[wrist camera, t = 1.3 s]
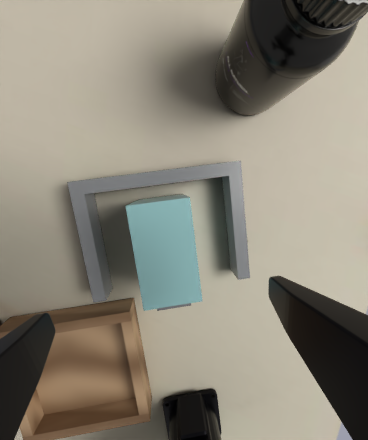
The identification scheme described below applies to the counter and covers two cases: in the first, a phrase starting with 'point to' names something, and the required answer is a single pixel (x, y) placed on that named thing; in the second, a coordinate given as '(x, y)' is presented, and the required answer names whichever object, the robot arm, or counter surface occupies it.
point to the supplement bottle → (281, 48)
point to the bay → (85, 189)
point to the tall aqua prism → (165, 251)
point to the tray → (89, 372)
